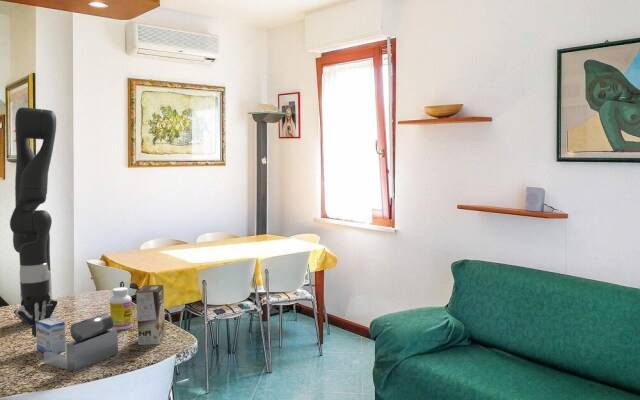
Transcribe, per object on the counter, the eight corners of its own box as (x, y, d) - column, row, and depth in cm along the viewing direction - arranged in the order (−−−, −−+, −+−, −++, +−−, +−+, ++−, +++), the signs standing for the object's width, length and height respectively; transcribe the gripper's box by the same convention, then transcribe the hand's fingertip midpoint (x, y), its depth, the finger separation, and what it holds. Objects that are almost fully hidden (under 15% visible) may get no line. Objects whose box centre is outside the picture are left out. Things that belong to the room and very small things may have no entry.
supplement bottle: (125, 331, 179) (123, 291, 178) (107, 330, 180) (105, 291, 179) (136, 324, 185) (134, 286, 184) (118, 323, 186) (116, 286, 185)
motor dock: (44, 363, 152) (41, 320, 151) (87, 346, 165) (85, 307, 163) (78, 371, 146) (75, 327, 145) (120, 353, 158) (118, 312, 157)
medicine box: (36, 350, 162) (34, 321, 161) (50, 345, 166) (49, 317, 165) (52, 355, 158) (50, 325, 157) (66, 350, 162) (65, 321, 161)
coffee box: (159, 344, 166) (157, 291, 164) (137, 345, 165) (135, 292, 164) (165, 334, 175) (163, 284, 173) (144, 335, 174) (142, 284, 173)
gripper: (46, 272, 169) (49, 327, 171) (4, 282, 158) (8, 341, 159) (63, 275, 166) (66, 331, 168) (21, 285, 154) (25, 345, 156)
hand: (38, 336), depth 164 cm, fingers closed
